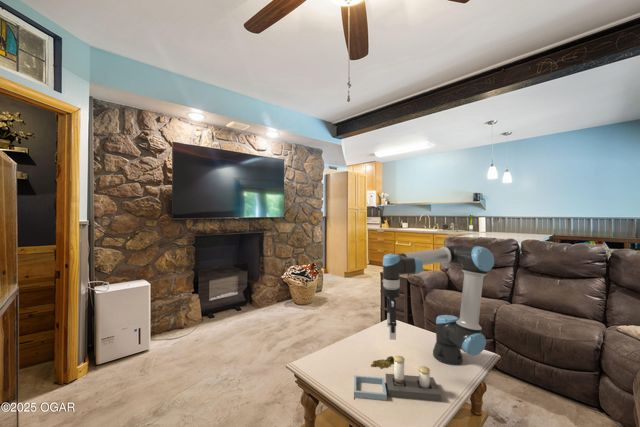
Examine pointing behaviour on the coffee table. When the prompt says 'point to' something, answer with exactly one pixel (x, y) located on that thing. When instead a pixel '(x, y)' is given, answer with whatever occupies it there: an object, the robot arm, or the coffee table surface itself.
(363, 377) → the parts tray
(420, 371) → the fuse
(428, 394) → the fuse holder
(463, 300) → the robot arm
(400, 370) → the cylinder
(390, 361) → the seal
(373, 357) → the coffee table surface
